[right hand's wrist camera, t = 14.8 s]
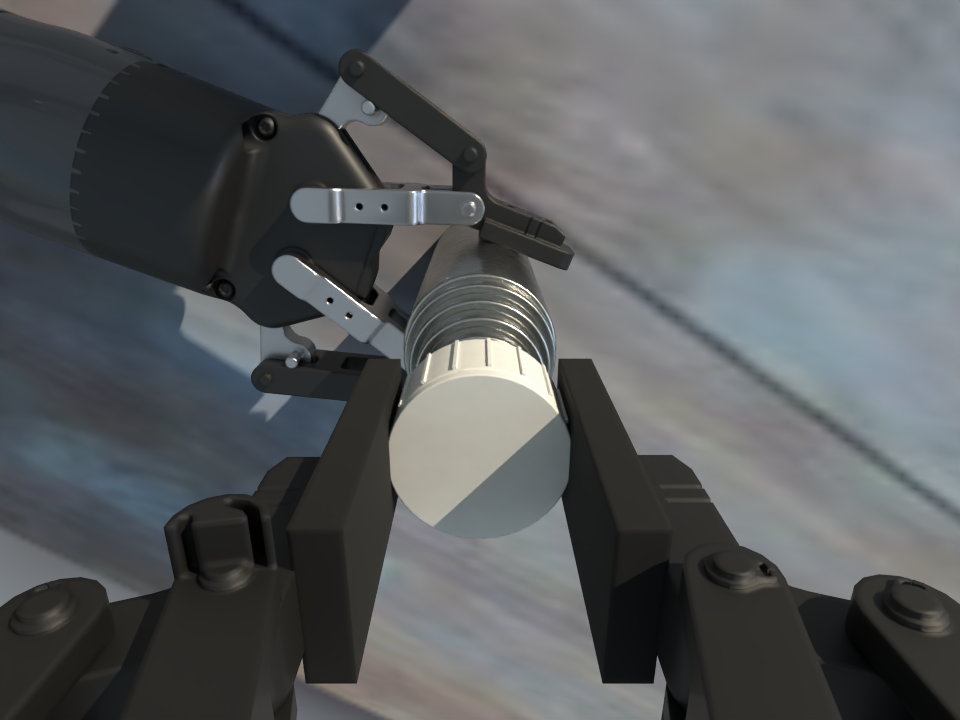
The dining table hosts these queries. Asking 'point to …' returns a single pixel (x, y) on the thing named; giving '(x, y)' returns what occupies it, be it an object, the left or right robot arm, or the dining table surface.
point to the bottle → (478, 300)
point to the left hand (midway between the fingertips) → (540, 317)
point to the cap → (479, 440)
